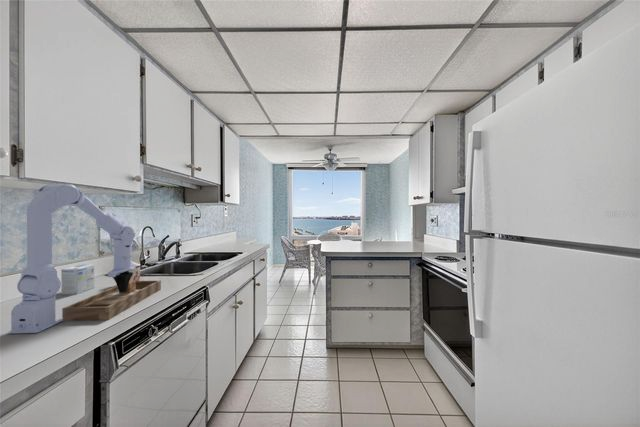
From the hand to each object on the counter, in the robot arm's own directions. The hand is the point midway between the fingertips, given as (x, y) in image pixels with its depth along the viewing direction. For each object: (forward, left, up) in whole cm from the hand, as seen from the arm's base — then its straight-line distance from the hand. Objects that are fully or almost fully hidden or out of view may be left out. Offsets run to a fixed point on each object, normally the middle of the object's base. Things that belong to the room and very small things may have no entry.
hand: (122, 291), depth 112 cm
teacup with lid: (+28, +13, -4) cm, 31 cm away
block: (+3, 0, -1) cm, 4 cm away
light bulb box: (+16, +28, -4) cm, 32 cm away
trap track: (-2, 0, -4) cm, 4 cm away
